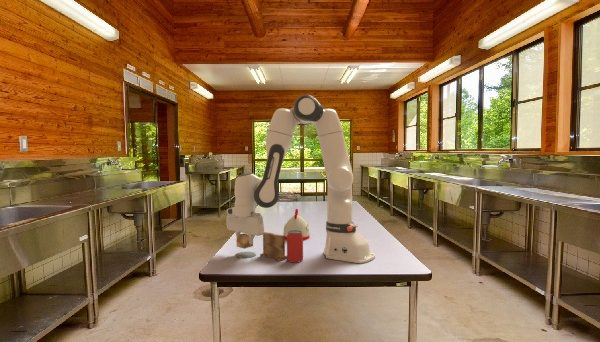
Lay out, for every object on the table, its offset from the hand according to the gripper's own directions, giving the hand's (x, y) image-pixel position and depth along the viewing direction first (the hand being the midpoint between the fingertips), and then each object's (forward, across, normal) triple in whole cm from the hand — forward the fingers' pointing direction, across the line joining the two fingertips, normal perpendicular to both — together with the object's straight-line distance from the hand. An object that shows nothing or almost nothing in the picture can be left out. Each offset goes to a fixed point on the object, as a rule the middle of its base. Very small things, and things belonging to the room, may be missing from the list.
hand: (244, 242), depth 146 cm
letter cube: (+2, 0, 0) cm, 2 cm away
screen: (+5, -12, -5) cm, 14 cm away
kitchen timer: (+6, +2, -38) cm, 39 cm away
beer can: (+6, -22, -8) cm, 24 cm away
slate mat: (+5, 0, 0) cm, 5 cm away
